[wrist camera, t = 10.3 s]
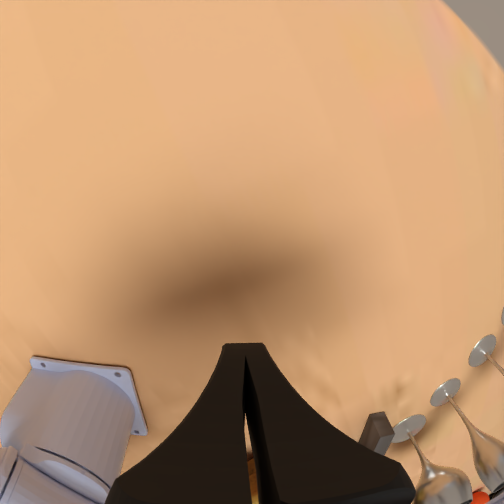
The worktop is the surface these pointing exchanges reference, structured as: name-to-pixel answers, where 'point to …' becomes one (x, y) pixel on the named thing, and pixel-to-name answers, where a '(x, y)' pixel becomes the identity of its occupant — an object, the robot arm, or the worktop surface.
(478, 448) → the goblet set
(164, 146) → the worktop surface
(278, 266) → the worktop surface
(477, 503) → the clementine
